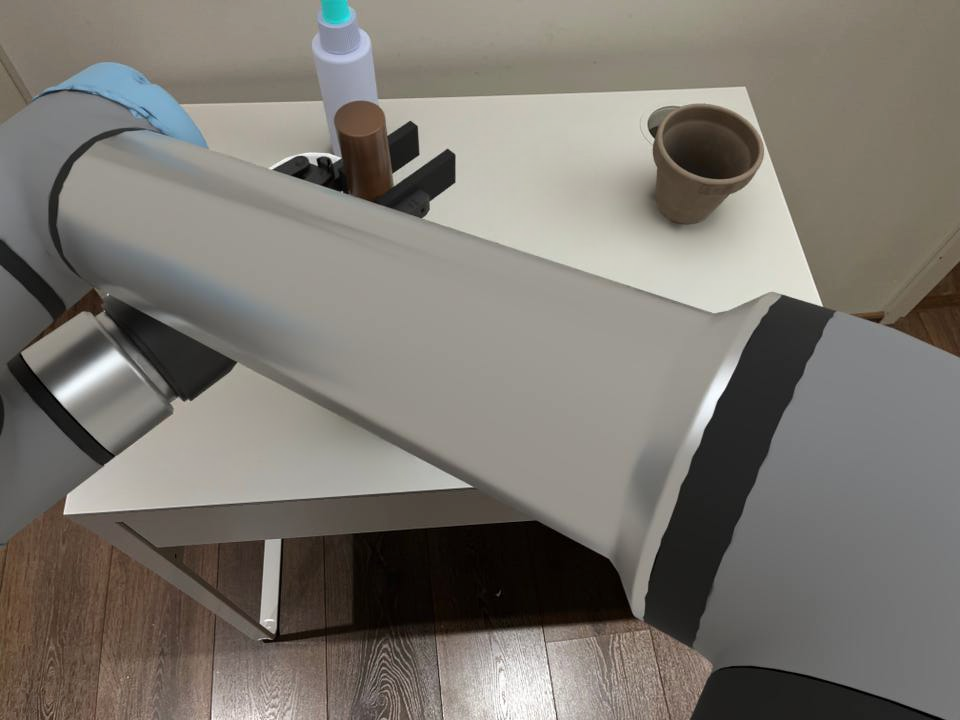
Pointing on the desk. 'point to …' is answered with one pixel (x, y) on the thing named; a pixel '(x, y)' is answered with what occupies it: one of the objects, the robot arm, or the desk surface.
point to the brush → (364, 149)
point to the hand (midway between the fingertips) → (432, 152)
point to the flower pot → (703, 160)
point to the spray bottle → (342, 61)
